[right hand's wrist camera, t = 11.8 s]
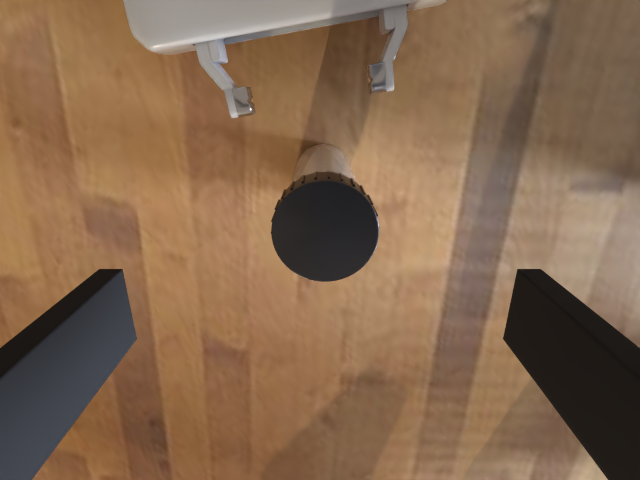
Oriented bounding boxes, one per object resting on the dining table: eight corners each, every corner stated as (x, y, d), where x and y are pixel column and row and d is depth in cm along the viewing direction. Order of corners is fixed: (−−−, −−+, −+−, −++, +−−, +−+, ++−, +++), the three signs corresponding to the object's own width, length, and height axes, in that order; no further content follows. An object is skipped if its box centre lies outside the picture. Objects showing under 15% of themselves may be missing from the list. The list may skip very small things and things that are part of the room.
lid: (282, 161, 20) (278, 169, 18) (385, 180, 20) (392, 190, 18) (268, 255, 22) (262, 273, 20) (362, 271, 22) (366, 290, 20)
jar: (300, 139, 33) (285, 175, 18) (355, 149, 33) (382, 193, 18) (292, 192, 35) (271, 265, 20) (343, 201, 35) (361, 280, 20)
